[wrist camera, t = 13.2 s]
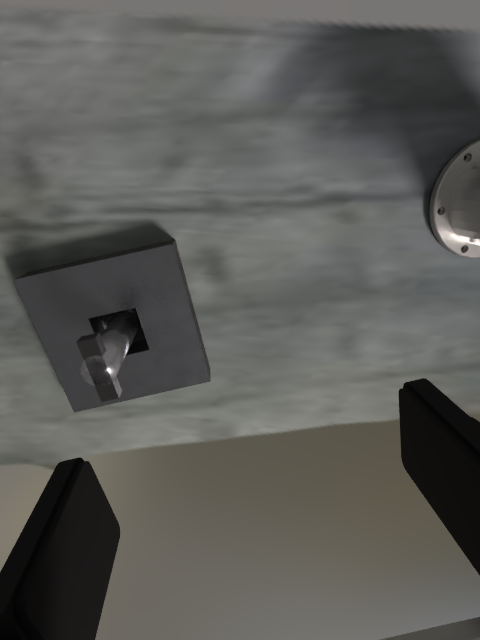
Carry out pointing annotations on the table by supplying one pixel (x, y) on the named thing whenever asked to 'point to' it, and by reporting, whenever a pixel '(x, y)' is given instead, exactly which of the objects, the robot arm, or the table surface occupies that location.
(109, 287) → the block
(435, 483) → the robot arm
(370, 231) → the table surface
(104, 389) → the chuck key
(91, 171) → the table surface
